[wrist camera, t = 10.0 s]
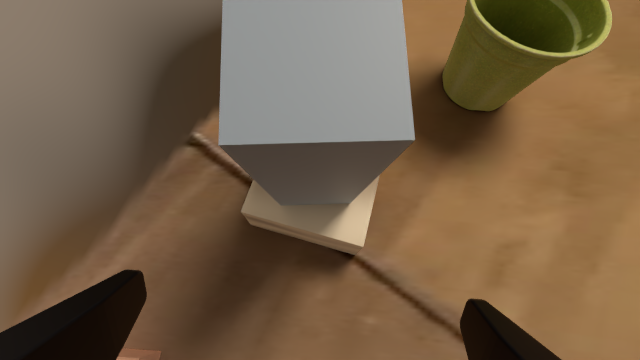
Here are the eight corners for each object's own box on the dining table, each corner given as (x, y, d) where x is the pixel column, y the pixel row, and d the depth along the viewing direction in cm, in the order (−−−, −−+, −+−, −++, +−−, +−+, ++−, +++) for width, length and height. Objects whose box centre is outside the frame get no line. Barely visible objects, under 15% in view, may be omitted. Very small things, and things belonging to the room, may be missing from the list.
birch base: (354, 255, 23) (363, 246, 19) (252, 226, 23) (240, 211, 20) (376, 161, 26) (388, 137, 22) (285, 137, 26) (280, 109, 22)
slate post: (350, 203, 20) (414, 139, 7) (280, 205, 20) (218, 145, 7) (346, 136, 21) (399, -28, 8) (279, 138, 21) (223, -25, 8)
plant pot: (545, 87, 28) (638, 2, 20) (487, 150, 26) (568, 80, 18) (463, 31, 31) (517, -65, 23) (402, 83, 28) (439, -5, 20)
